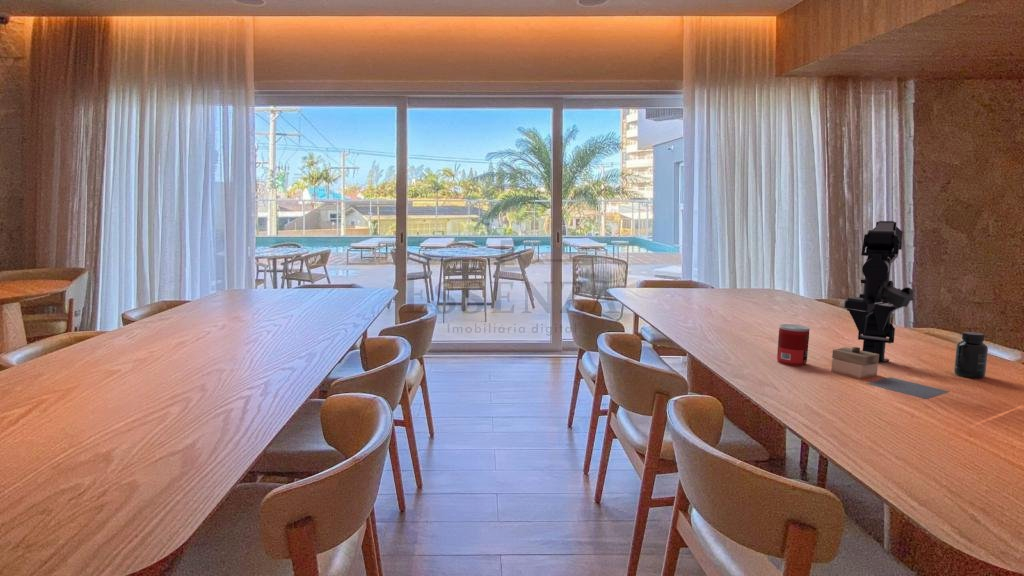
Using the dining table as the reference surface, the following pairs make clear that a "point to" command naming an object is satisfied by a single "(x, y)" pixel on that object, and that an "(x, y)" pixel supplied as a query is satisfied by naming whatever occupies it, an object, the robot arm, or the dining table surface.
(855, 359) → the lid
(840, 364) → the tan box
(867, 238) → the robot arm
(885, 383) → the mat
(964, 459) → the dining table surface
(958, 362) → the supplement bottle
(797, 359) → the canned food
